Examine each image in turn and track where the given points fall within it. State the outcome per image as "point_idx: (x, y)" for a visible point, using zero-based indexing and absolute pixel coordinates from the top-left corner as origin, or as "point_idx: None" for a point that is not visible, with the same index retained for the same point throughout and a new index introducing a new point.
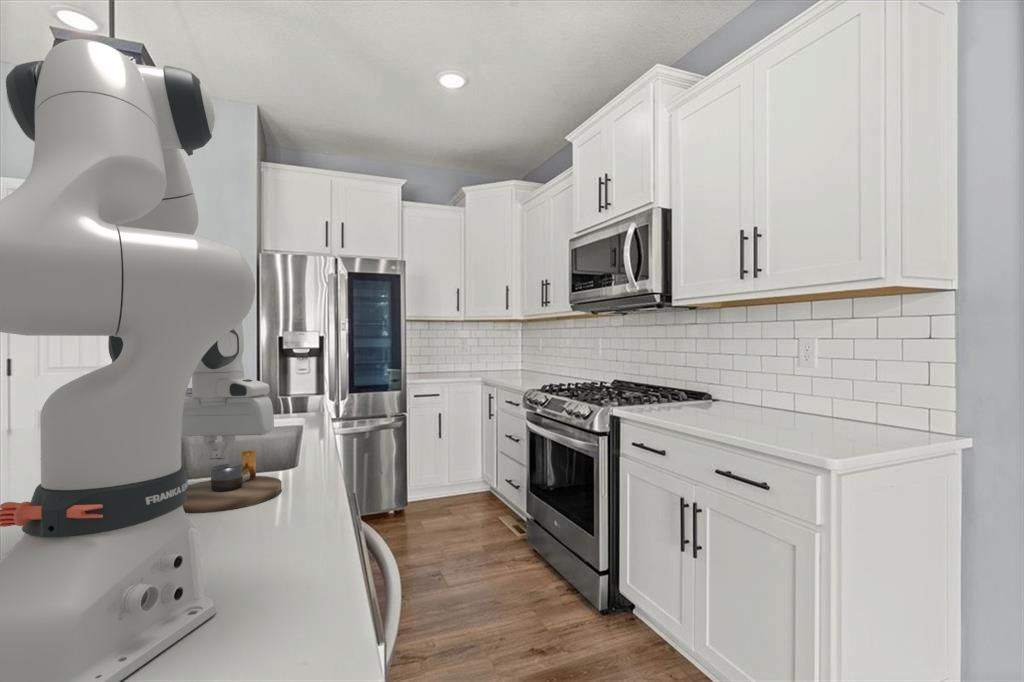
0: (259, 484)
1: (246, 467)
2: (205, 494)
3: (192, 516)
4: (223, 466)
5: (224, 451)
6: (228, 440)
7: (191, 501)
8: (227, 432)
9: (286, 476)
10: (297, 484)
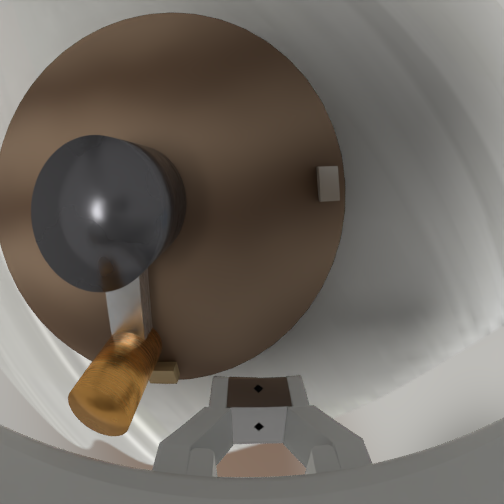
0: None
1: (113, 344)
2: (163, 110)
3: (136, 6)
4: (109, 223)
5: (210, 405)
6: (161, 450)
7: (161, 29)
8: (123, 482)
9: None
10: (37, 339)
